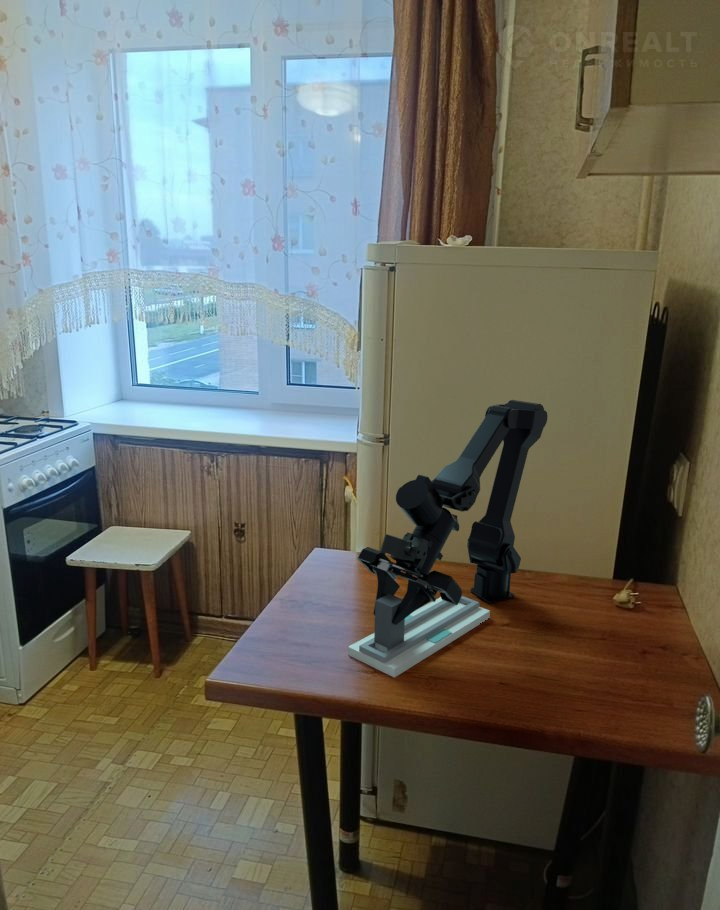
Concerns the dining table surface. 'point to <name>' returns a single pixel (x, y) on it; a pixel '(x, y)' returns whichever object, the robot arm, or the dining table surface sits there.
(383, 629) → the fader
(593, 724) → the dining table surface
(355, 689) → the dining table surface
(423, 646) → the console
